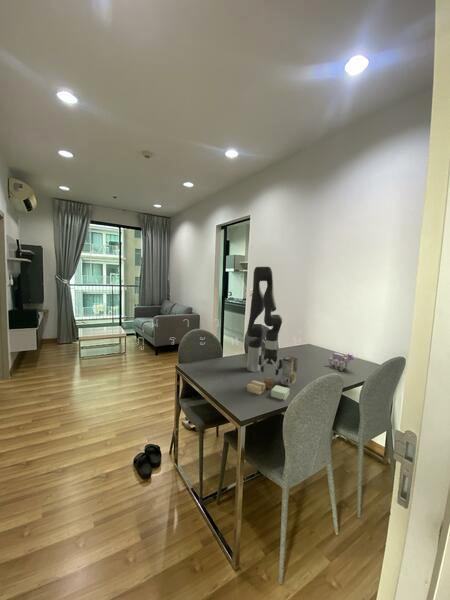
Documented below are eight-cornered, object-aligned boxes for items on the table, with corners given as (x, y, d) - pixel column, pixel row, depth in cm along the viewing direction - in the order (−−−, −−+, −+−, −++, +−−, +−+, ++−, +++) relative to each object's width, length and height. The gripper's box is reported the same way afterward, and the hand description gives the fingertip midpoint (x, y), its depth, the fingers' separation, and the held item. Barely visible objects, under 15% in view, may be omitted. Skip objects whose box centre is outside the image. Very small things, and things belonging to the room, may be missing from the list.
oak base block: (253, 386, 160) (253, 380, 159) (265, 390, 156) (265, 383, 155) (247, 391, 153) (247, 384, 153) (259, 395, 149) (259, 388, 148)
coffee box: (286, 379, 173) (288, 355, 172) (296, 382, 169) (298, 357, 168) (280, 383, 166) (282, 358, 165) (289, 386, 162) (291, 361, 161)
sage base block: (275, 391, 155) (276, 385, 154) (289, 395, 150) (289, 388, 150) (270, 396, 148) (271, 389, 147) (284, 400, 144) (285, 393, 143)
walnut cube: (266, 384, 164) (266, 376, 163) (273, 386, 161) (274, 378, 161) (263, 387, 159) (264, 379, 159) (271, 389, 157) (272, 381, 156)
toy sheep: (359, 372, 194) (360, 354, 192) (351, 375, 188) (352, 357, 186) (334, 363, 210) (335, 347, 208) (326, 366, 204) (327, 349, 202)
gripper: (284, 348, 158) (282, 374, 159) (262, 344, 164) (260, 369, 165) (281, 350, 151) (279, 377, 152) (258, 346, 157) (256, 372, 159)
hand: (269, 373), depth 159 cm, fingers open, 8 cm apart
